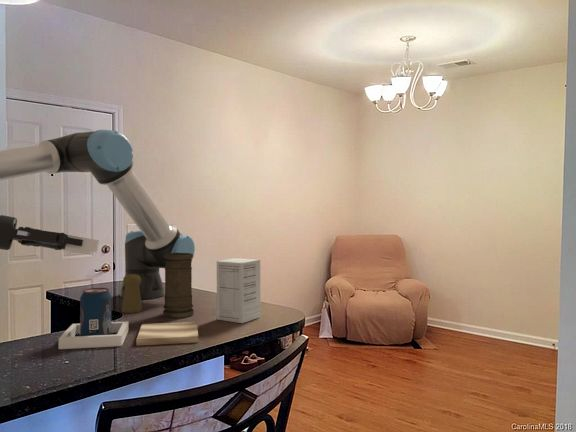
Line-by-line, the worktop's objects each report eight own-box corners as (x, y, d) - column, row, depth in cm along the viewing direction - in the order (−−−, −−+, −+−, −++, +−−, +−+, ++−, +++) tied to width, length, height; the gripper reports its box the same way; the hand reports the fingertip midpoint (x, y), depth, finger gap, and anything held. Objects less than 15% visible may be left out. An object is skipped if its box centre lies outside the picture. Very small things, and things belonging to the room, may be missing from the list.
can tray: (72, 333, 119) (72, 323, 119) (128, 330, 122) (128, 321, 122) (58, 349, 106) (58, 338, 106) (121, 346, 109) (121, 335, 109)
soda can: (83, 336, 117) (83, 287, 116) (113, 334, 118) (113, 286, 118) (77, 344, 110) (77, 292, 110) (109, 342, 111) (109, 291, 111)
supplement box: (261, 317, 138) (262, 259, 137) (242, 324, 130) (243, 262, 129) (235, 313, 143) (235, 257, 142) (215, 319, 135) (215, 260, 134)
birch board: (141, 329, 123) (141, 324, 123) (196, 327, 126) (196, 321, 126) (136, 345, 109) (136, 339, 109) (198, 342, 112) (198, 336, 112)
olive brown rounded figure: (134, 313, 142) (134, 276, 141) (117, 311, 144) (117, 275, 143) (146, 309, 147) (146, 273, 147) (130, 307, 149) (130, 272, 149)
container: (186, 318, 135) (186, 255, 135) (157, 317, 137) (157, 254, 137) (198, 312, 144) (198, 252, 144) (171, 310, 146) (171, 252, 145)
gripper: (-7, 250, 116) (86, 264, 125) (-16, 243, 94) (96, 261, 103) (1, 220, 117) (92, 236, 127) (-6, 207, 95) (104, 227, 105)
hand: (94, 247), depth 115 cm, fingers open, 13 cm apart
